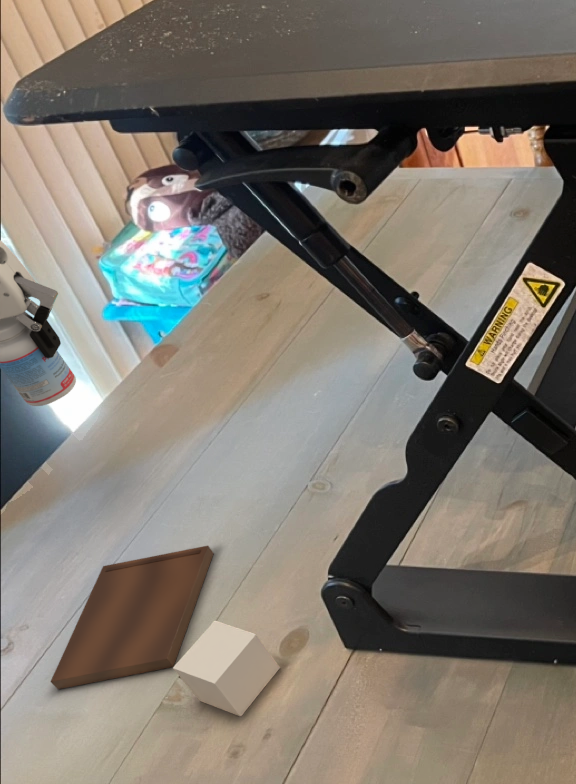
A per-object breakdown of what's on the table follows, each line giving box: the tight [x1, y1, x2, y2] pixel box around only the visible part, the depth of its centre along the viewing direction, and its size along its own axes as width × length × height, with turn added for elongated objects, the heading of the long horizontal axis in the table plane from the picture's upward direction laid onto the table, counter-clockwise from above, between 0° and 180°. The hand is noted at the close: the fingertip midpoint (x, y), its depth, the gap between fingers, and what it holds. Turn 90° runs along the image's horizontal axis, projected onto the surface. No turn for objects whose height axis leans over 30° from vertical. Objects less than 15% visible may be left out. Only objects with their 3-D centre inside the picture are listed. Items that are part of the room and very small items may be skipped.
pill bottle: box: [0, 316, 77, 407], centre depth 130 cm, size 6×6×11 cm
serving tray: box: [50, 545, 214, 690], centre depth 121 cm, size 13×16×2 cm
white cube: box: [172, 620, 281, 717], centre depth 110 cm, size 6×6×6 cm
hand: (26, 355), depth 130 cm, fingers closed on pill bottle, 6 cm apart
